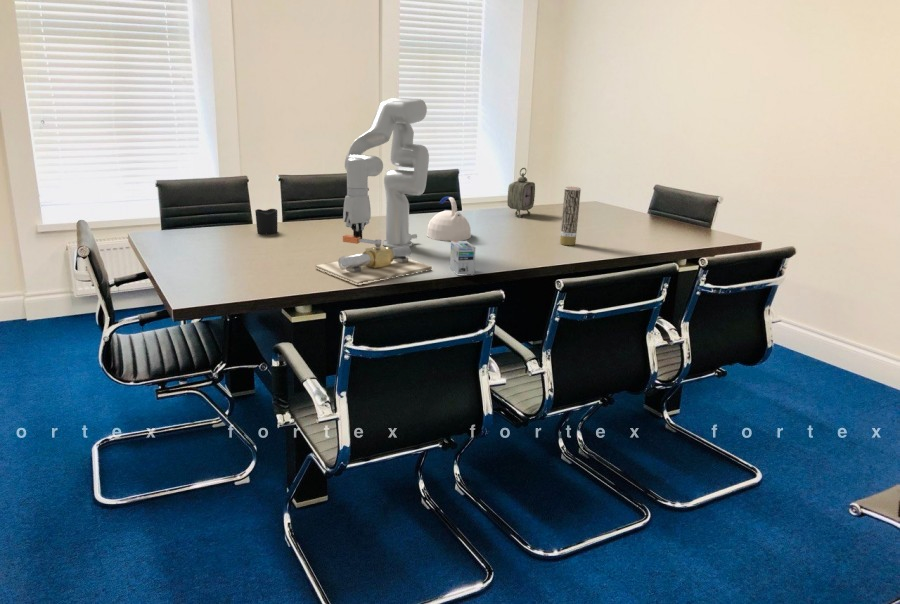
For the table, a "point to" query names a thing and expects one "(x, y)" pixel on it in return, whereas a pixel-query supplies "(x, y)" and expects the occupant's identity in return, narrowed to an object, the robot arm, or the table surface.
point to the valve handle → (360, 240)
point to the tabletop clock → (521, 194)
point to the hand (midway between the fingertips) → (357, 240)
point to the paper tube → (570, 215)
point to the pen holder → (266, 221)
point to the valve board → (375, 271)
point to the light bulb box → (462, 257)
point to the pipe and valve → (375, 258)
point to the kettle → (449, 224)
